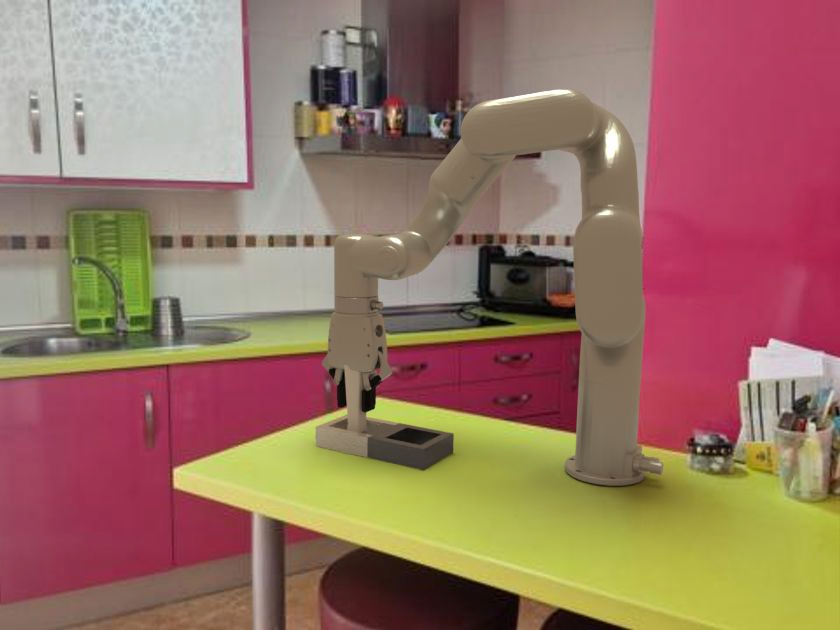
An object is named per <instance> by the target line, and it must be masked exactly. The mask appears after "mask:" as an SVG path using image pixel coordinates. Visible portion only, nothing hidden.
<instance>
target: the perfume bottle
mask: <svg viewBox="0 0 840 630" xmlns="http://www.w3.org/2000/svg"><path fill="white" fill-rule="evenodd" d="M344 369H345V384H346V399H347V406H346V410H347V414H348V426H347V430H349V431H354V432H359V433H361V432H363V431H366V430H367V426H366V417H367V412H366V413H365V412H362V390H364V389H365V387H364V382H363V377H362V373H361V372H358V371H354V370H350V369H349V367H348V366H347V365H344ZM347 414H346V415H347Z"/></svg>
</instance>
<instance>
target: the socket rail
mask: <svg viewBox="0 0 840 630" xmlns="http://www.w3.org/2000/svg"><path fill="white" fill-rule="evenodd" d="M347 426H348V414H344V415H342V416H340V417H337V418H335V419H332V420H330V421H327V422H324V423H322V424H319V425H316V426H315V447H318V448H323V449H327V450H331V451H337V452H340V453H343V454H344V453H345V454H350V455H354V456H358V457H363V458H366V459H367V458H368V459H371V460H376V461H380V462H385V463H390V464H395V465H399V466H404V467H407V468H412V469H417V470H421V471H425V470H426V469H428V468H430V467H432V466H434V465H436V464H437V463H439V462H440V461H442V460H443V459H445V458H447V457H449V456H451V455H453V454H454V435H455V434H454V432H447V431H443V430H437V429H434V428H433V429H432V428H426V427H421V426H416V425H413V424H412V425H411V424H405V423H400V422H396V421H390V420H384V419H381V418H374V417H370V416H366V426H367V430H366V431H363V432H361V433H359V432H354V431H349V430H347Z"/></svg>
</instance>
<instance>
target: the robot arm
mask: <svg viewBox="0 0 840 630" xmlns="http://www.w3.org/2000/svg"><path fill="white" fill-rule="evenodd" d="M459 133H460V139H459V140H458V142H457V143H456V144H455V146H454V147H453V148H452V149H451V150H450V152H449V153H448V154H447V155H446V157H445V158H444V159H443V160H442V162H440V163H439V165H438V166H437V168H435V170H434V171H433V173H431V176H430V179H429V182H428V193H427V196H426V199H425V201H424V203H423V205H422V207H421V208H420V210H419V211H418V212H417V214H416V215H415V217H414V218H413V219H412V220H411V221H410V223H409V224H408V225H407V227H406V228H404V230H403V231H402V233H395V234H389V235H388V234H387V235H381V236H374V235H372V234H365V233H345V234H344V233H343V234H339V235H337V236H336V237H335V239H334V243H333V244H334V245H333V247H334V249H333V251H334V253H333V254H334V255H333V258H334V259H333V260H334V261H333V266H334V267H333V269H334V270H333V272H334V273H333V274H334V276H333V277H334V280H333V281H334V282H333V283H334V291H333V292H334V297H333V299H334V302H333V303H334V309H333V310H334V311H333V312H332V313H331V316H330V321H329V322H330V323H329V329H328V338H327V339H328V340H327V353H326V355H325V357H324V358H323V360H322V361H321V366H322V367H323V368H324V369H325V370H326V371H327V372H328V374H329V375H330V377H331V378H332V379H333V384H334V385H335V386H336V401H337V409H338V408H340V409H342V408H344V407H347V399H346V384H345V369H344V365H347V366H348V367H349V369H350V370H354V371H358V372H361V373H362V377H363V382H364V387H365V389H364V390H362V412H365V413H366V414H367V413H368V412H371V411H374V410H375V408H376V404H377V403H376V401H377V388H379V386H380V384H382V382H384V380H386V379H387V378H388V377H390V376H391V375H393V370H392V368H391V366H390V365H389V363H388V343H387V333H386V326H385V322H384V318H383V317H384V316H383V314H382V313H379V310H383V308H384V303H383V301H379V279H382V280H387V281H398V280H399V281H400V280H403V279H406V278H408V277H411V276H415V275H418V274H419V273H421V272H423V271H424V270H426V269H427V268H428V266H430V265H431V263H432V262H433V261H434V260H435V258H437V257H438V255H440V253H441V251H442V250H443V249H445V247H446V246H447V245H448V243H449V242H450V241H451V239H452V238H453V236H455V234H456V233H457V231H458V230H459V228H460V227H461V225H462V224H463V223H464V221H465V220H466V219H467V217H468V215H469V214H470V212H471V210H472V209H473V208H474V206H475V205H476V203H478V202H479V201H480V199H481V198H482V197H483V195H484V194H485V193H486V192H487V191H488V190H489V188H490V187H491V186H492V185H493V183H494V182H495V181H497V179H498V178H499V176H500V175H502V173H503V172H504V171H505V170H506V168H507V167H508V166H509V165H510V164H511V163H512V161H513V160H514V159H515V158H516V156H521V155H528V154H530V155H531V154H537V153H544V152H549V151H550V152H551V151H558V150H559V151H564V152H566V153H570V154H573V155H574V156H575V157H576V159H577V161H578V163H579V169H580V192H581V193H580V194H581V220H580V221H579V223H578V224H577V226H576V229H575V232H574V236H573V246H572V247H573V249H572V252H573V253H572V255H573V277H574V278H573V280H574V303H575V304H574V307H575V308H574V309H575V317H576V319H575V320H576V323H577V326H578V328H579V331H580V333H581V339H580V354H579V367H578V371H579V372H578V373H579V374H578V389H577V390H578V391H577V392H578V394H577V411H576V413H577V415H576V431H575V432H576V433H575V435H576V436H575V450H574V451H575V453H574V455H572V456H570V457H568V458H567V459H566V460H565V461H564V470H565V472H566V473H567V474H568V475H569V476H571V477H572V478H574V479H577V480H579V481H582V482H583V483H584V482H585V483H589V484H593V485H599V486H612V487H613V486H614V487H618V486H619V487H621V486H629V485H634V484H637V483H641V482H642V481H643V480H645V478H646V472H647V473H650V474H655V475H660V476H661V475H663V472H664V462H661V461H660V458H659V457H653V456H647V455H646V456H645V454H644V453H643V446H642V445H638V434H639V433H638V432H639V431H638V430H639V413H640V400H641V399H640V396H641V381H642V368H643V367H642V366H643V355H644V353H643V350H644V336H645V324H646V313H647V311H646V310H647V309H646V300H645V298H644V294H643V292H644V290H643V289H644V287H643V259H642V258H643V253H642V251H643V250H642V249H643V248H642V244H643V229H642V226H641V217H640V202H639V201H640V200H639V199H640V197H639V185H638V184H639V183H638V182H639V180H638V165H637V164H638V163H637V156H636V155H637V154H636V150H635V146H634V142H633V139H632V137H631V134H630V132H629V131H628V129H627V128H626V126H625V125H624V124H623V122H621V120H620V119H619V118H618V117H617V116H616V115H615V114H613V113H612V112H610V111H609V110H608V109H605V108H604V107H602V106H600V105H598V104H597V103H594V102H593V101H591V99H590V98H589V97H588V96H587V95H586V94H584V93H582V92H580V91H578V90H576V89H572V88H571V89H569V88H557V89H552V90H545V91H539V92H534V93H528V94H521V95H516V96H510V97H509V96H508V97H503V98H498V99H497V98H496V99H491V100H490V99H489V100H486V101H483V102H479V103H478V104H477V103H476V105H474V106H473V107H472V108H470V109H469V110H468V112H467V113H466V114H464V117H463V120H462V121H461V125H460V132H459ZM377 370H379V371H380V372H378V371H377Z"/></svg>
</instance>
